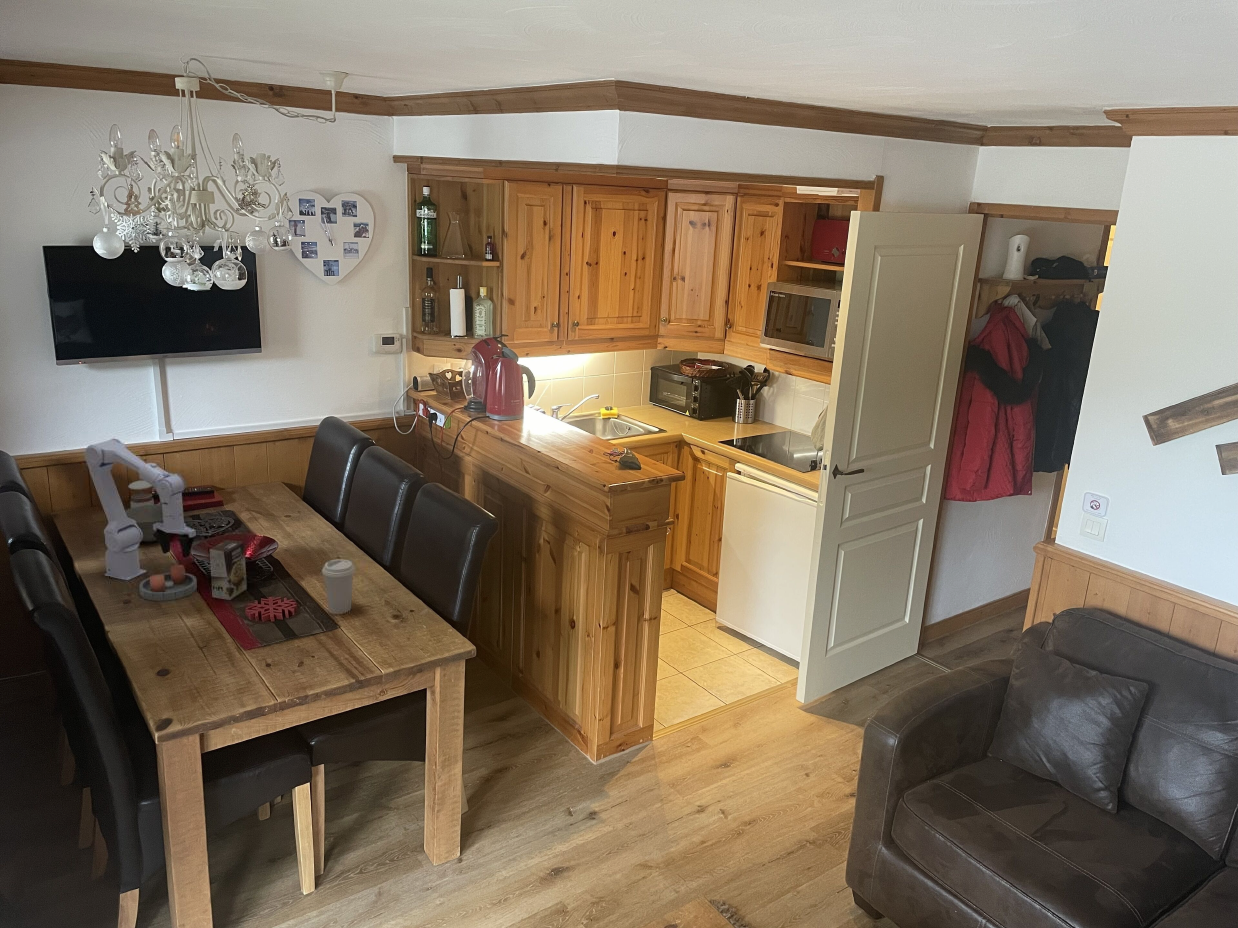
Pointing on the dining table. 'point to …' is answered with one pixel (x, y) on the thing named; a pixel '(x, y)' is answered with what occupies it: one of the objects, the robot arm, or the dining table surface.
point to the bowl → (146, 519)
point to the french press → (139, 496)
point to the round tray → (169, 588)
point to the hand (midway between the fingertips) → (176, 554)
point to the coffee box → (228, 569)
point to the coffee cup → (338, 585)
